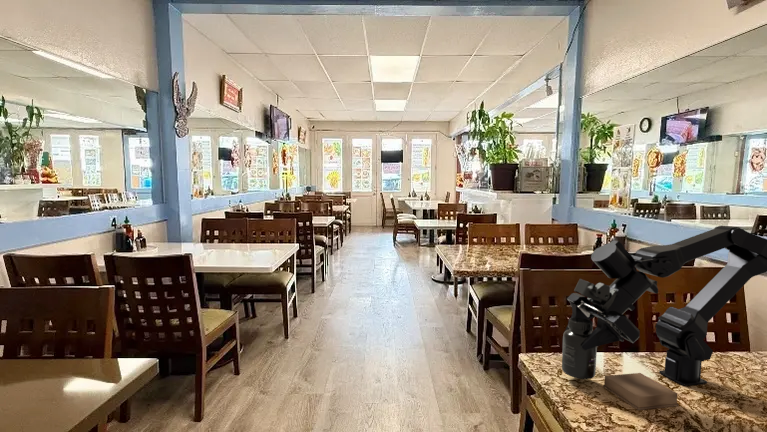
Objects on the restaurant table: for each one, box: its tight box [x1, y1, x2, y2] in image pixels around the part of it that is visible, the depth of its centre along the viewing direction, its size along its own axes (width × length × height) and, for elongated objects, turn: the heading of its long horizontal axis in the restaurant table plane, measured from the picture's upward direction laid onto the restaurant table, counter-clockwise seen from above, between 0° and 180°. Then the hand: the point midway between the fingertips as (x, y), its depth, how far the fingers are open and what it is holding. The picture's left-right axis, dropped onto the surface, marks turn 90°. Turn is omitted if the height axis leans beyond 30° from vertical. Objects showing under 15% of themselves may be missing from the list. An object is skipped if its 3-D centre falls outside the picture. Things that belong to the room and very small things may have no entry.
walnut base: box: [602, 372, 679, 411], centre depth 83 cm, size 9×9×2 cm
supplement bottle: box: [561, 317, 598, 380], centre depth 89 cm, size 7×7×12 cm
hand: (573, 342), depth 89 cm, fingers closed on supplement bottle, 7 cm apart
